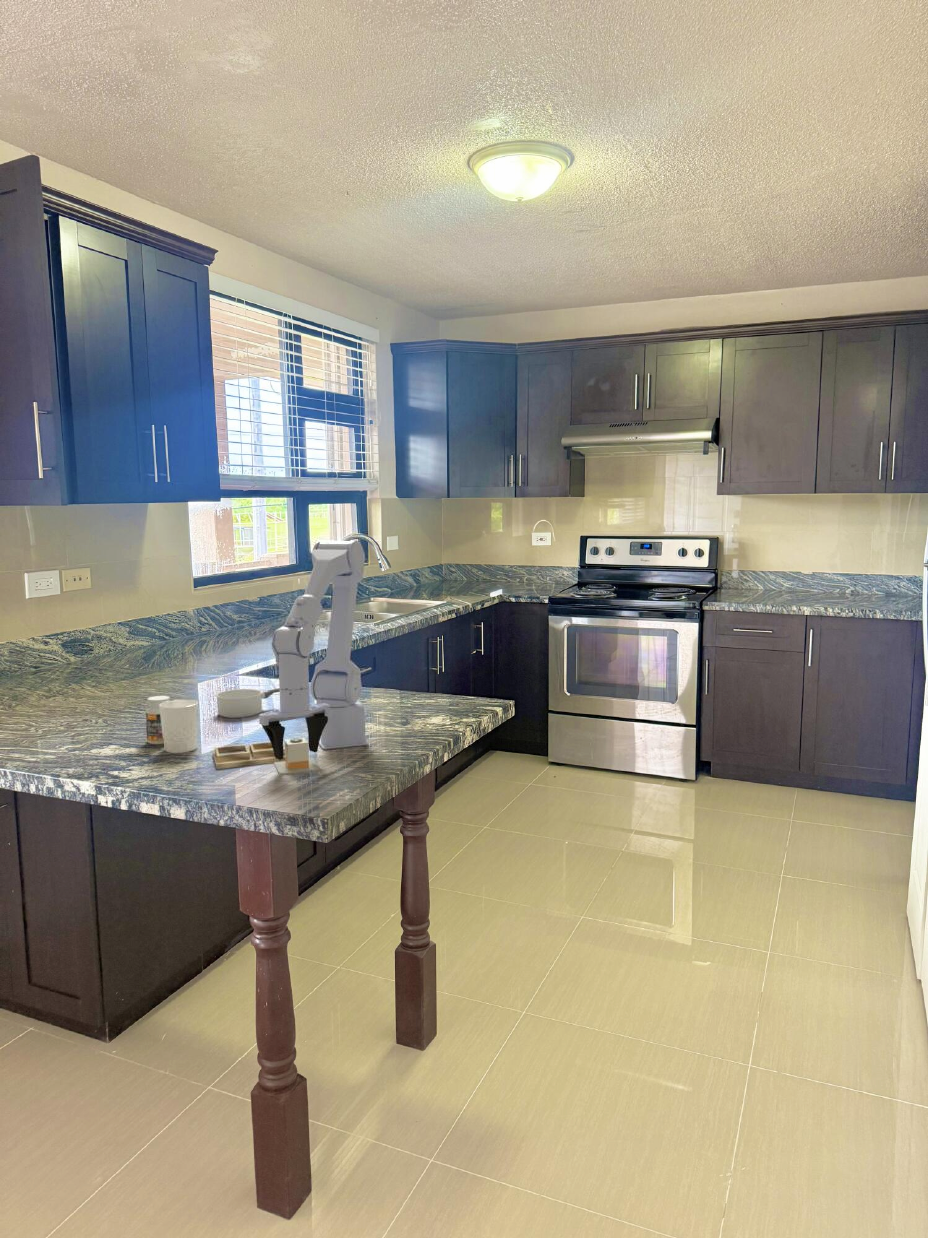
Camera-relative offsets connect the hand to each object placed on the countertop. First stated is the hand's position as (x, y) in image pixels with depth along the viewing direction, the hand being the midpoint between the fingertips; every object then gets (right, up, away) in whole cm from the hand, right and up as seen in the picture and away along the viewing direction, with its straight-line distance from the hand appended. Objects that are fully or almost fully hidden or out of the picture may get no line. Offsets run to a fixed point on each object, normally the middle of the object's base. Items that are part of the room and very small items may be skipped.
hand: (296, 754), depth 167 cm
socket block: (-11, -2, +7) cm, 13 cm away
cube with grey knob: (0, -2, 0) cm, 2 cm away
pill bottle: (-34, -1, +21) cm, 40 cm away
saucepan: (-20, +3, +47) cm, 51 cm away
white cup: (-28, -1, +14) cm, 31 cm away
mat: (0, -3, 0) cm, 3 cm away
